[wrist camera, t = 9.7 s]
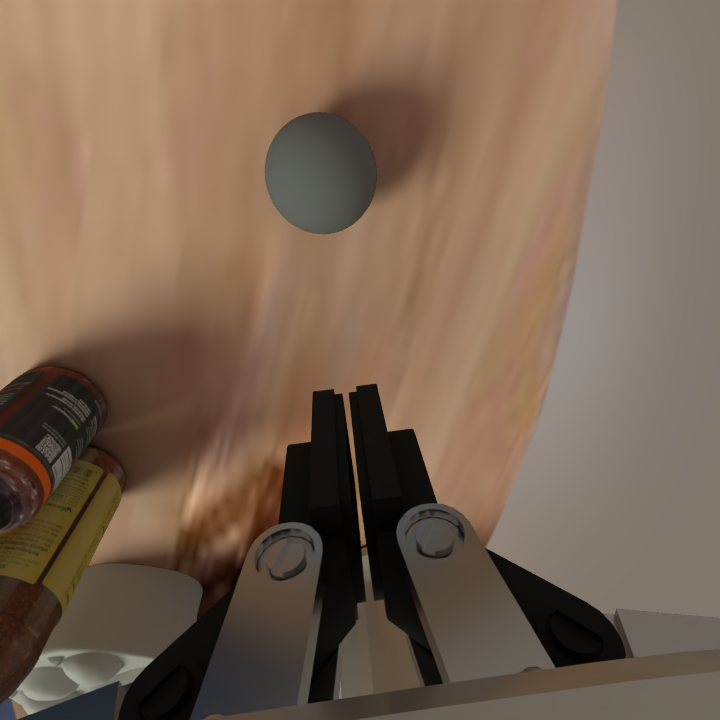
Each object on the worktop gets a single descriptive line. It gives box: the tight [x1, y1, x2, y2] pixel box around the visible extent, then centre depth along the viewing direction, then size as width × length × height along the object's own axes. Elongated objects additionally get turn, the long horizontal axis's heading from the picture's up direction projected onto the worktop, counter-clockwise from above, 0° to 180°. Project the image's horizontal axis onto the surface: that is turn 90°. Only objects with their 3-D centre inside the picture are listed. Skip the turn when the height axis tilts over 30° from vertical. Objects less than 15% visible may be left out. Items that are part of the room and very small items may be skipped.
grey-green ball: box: [265, 112, 377, 234], centre depth 21 cm, size 6×6×6 cm
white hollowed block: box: [9, 563, 203, 715], centre depth 35 cm, size 10×13×9 cm
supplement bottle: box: [0, 366, 107, 533], centre depth 24 cm, size 6×6×11 cm
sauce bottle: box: [0, 446, 126, 704], centre depth 23 cm, size 6×6×20 cm
